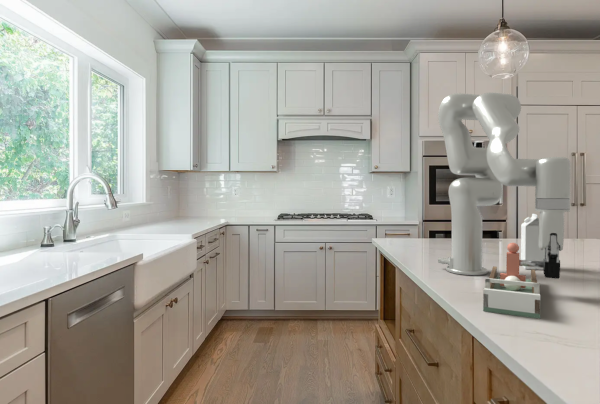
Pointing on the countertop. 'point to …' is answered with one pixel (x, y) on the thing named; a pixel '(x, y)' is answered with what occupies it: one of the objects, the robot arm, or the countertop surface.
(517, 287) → the egg
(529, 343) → the countertop surface
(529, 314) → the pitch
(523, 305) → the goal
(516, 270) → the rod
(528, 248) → the milk carton
